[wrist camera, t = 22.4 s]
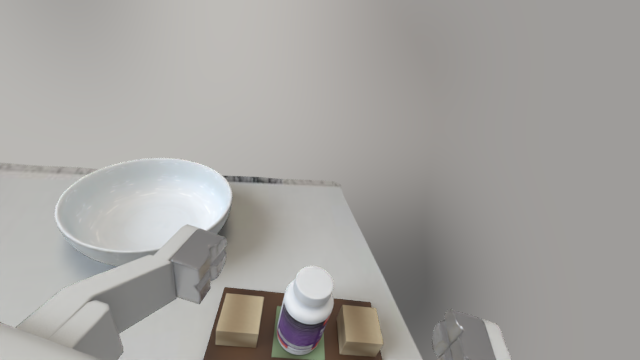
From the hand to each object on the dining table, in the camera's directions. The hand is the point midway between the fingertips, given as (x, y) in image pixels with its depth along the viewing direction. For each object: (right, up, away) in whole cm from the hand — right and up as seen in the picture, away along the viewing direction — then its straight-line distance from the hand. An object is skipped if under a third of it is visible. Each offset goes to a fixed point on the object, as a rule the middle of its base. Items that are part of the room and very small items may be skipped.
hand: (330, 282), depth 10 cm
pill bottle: (-3, -15, +23) cm, 28 cm away
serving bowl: (-25, -4, +32) cm, 41 cm away
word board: (-3, -15, +24) cm, 28 cm away
